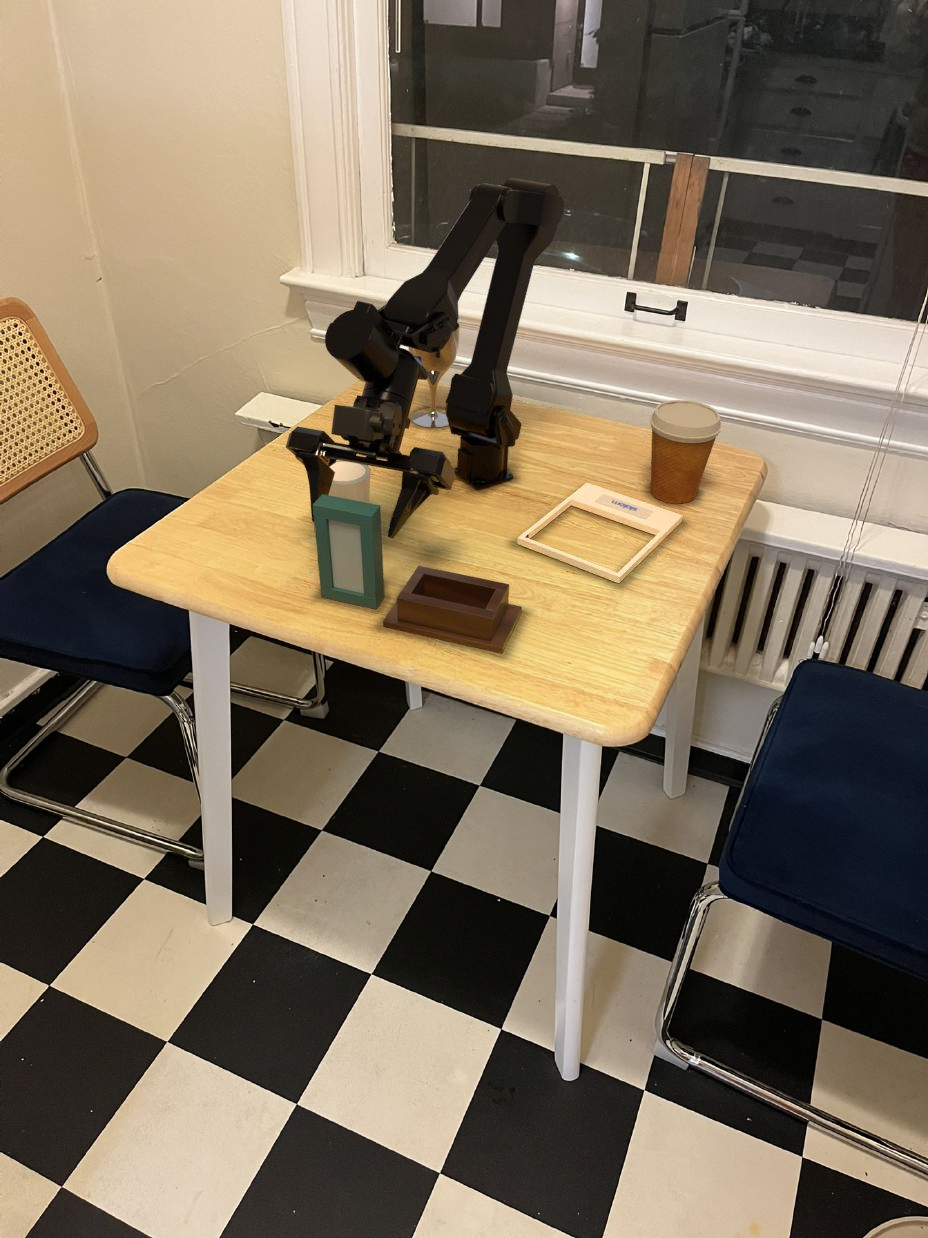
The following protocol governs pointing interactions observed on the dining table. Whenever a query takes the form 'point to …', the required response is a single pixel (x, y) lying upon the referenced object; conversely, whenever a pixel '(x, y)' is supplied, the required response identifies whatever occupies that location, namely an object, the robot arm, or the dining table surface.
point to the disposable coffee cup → (681, 448)
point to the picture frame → (349, 550)
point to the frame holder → (455, 609)
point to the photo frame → (614, 509)
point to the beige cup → (351, 481)
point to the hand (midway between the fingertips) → (352, 530)
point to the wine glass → (436, 380)
